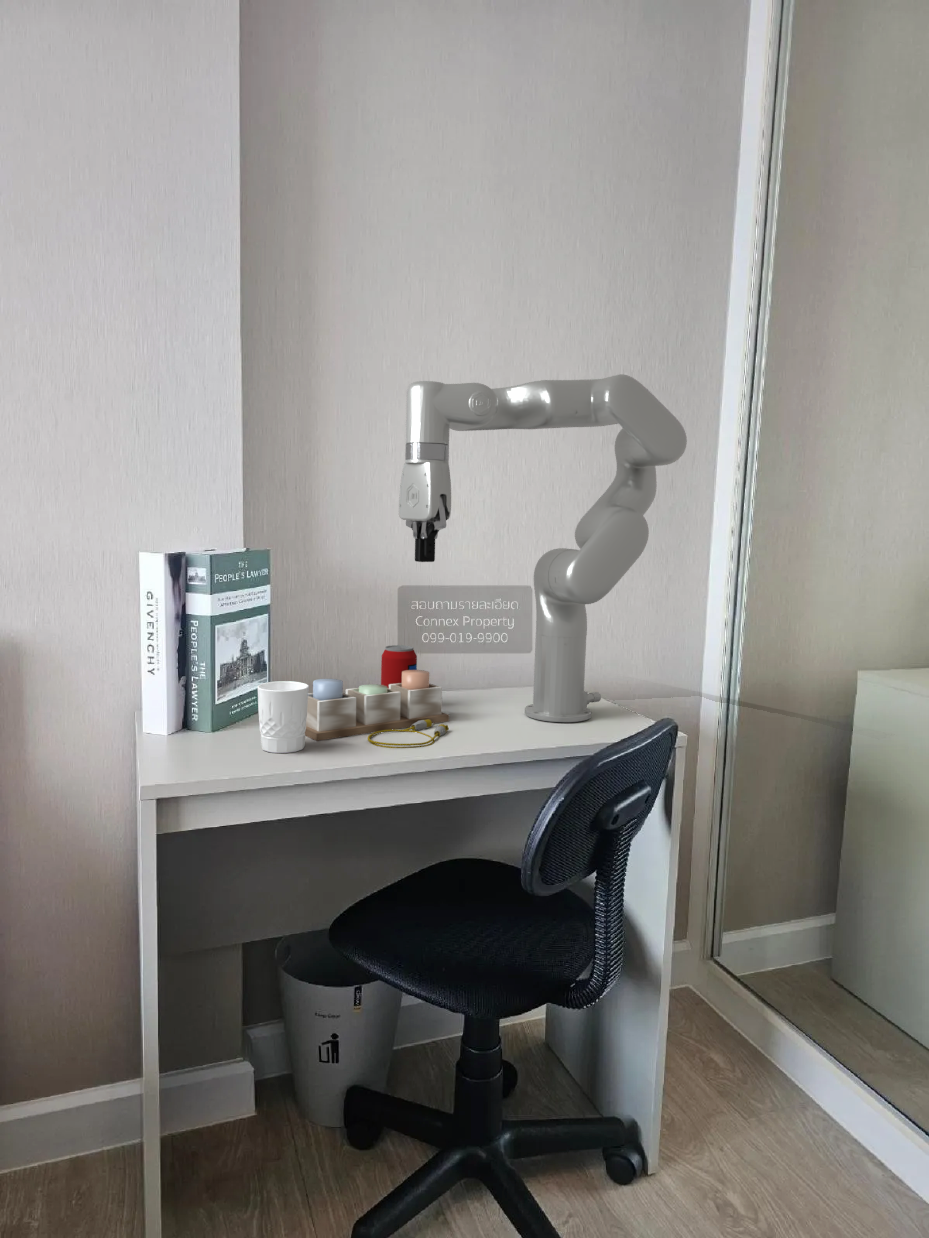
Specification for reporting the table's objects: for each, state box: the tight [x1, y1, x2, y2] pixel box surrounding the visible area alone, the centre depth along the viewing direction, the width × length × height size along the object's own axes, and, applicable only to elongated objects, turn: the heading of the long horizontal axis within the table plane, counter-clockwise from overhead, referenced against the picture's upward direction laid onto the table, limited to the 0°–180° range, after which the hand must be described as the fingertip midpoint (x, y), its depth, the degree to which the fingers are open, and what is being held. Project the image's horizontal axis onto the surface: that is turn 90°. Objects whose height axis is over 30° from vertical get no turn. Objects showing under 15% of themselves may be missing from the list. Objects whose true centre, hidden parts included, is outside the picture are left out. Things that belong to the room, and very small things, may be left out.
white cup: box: [257, 680, 310, 754], centre depth 142 cm, size 8×8×10 cm
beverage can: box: [380, 644, 418, 688], centre depth 171 cm, size 7×7×12 cm
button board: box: [305, 683, 450, 742], centre depth 158 cm, size 27×9×6 cm, turn 127°
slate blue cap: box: [312, 678, 344, 701], centre depth 153 cm, size 5×5×5 cm
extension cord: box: [367, 719, 450, 749], centre depth 151 cm, size 12×16×2 cm
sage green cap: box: [358, 683, 387, 695], centre depth 158 cm, size 5×5×5 cm
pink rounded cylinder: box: [402, 669, 430, 690], centre depth 164 cm, size 5×5×5 cm
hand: (424, 561), depth 157 cm, fingers closed
